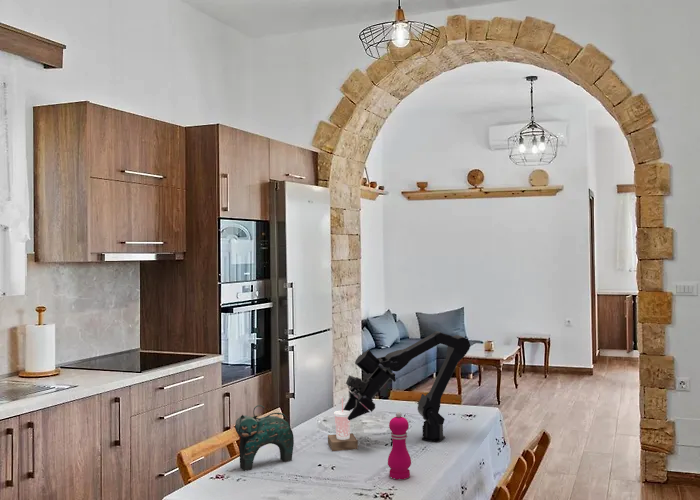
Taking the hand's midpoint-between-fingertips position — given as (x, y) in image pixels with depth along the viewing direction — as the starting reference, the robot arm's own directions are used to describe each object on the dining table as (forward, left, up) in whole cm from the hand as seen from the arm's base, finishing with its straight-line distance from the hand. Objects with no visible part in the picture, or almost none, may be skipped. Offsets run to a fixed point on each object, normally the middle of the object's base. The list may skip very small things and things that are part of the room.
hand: (345, 415), depth 255 cm
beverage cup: (+1, +1, -8) cm, 8 cm away
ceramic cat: (+14, +29, -11) cm, 34 cm away
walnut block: (+1, +1, -11) cm, 11 cm away
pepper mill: (-30, +19, -11) cm, 37 cm away
